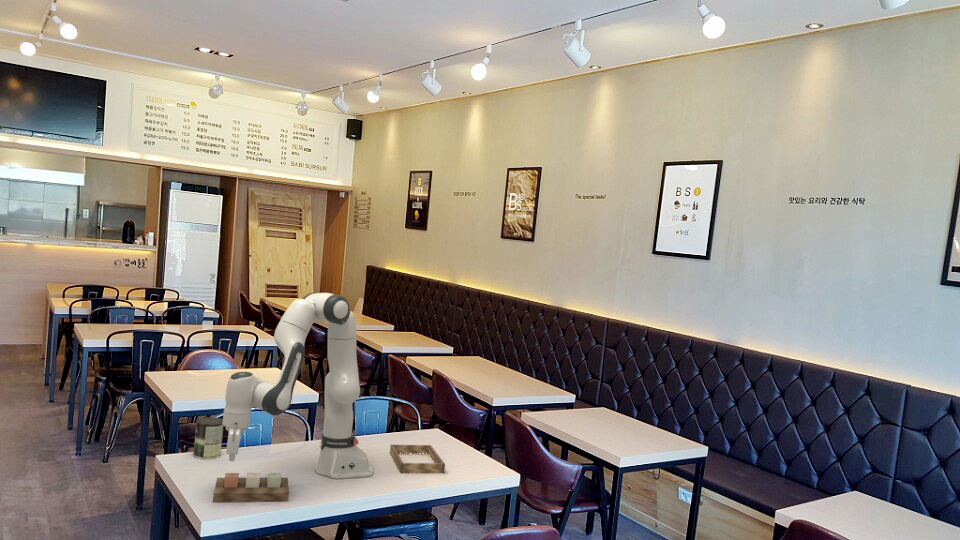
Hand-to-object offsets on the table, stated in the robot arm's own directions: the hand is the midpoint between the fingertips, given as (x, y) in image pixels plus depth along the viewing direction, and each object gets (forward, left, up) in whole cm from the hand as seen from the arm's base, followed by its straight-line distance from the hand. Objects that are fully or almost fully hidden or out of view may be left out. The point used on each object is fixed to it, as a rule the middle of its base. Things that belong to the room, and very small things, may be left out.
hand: (231, 459), depth 233 cm
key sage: (-15, 0, -9) cm, 17 cm away
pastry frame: (-73, -34, -12) cm, 81 cm away
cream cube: (-8, 0, -9) cm, 12 cm away
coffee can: (+10, -42, -12) cm, 45 cm away
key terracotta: (-1, 0, -9) cm, 9 cm away
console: (-8, 0, -12) cm, 14 cm away
